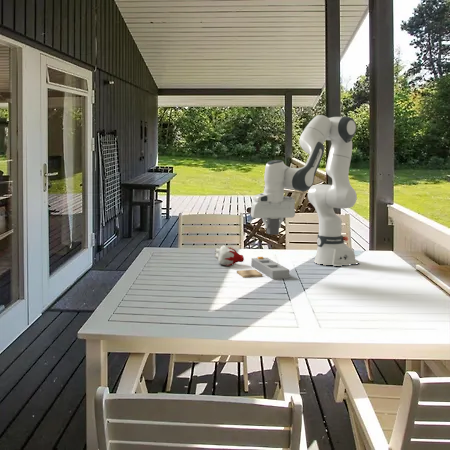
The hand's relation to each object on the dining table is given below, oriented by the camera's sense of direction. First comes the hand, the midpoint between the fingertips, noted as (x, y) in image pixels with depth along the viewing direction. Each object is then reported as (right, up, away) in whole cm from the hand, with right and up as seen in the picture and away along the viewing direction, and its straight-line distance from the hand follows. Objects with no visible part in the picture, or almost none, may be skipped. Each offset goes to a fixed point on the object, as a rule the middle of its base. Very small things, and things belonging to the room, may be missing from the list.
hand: (272, 227), depth 242 cm
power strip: (-2, -20, +11) cm, 23 cm away
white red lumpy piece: (-20, -18, +21) cm, 34 cm away
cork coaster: (-10, -21, +2) cm, 24 cm away
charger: (0, -3, 0) cm, 3 cm away
